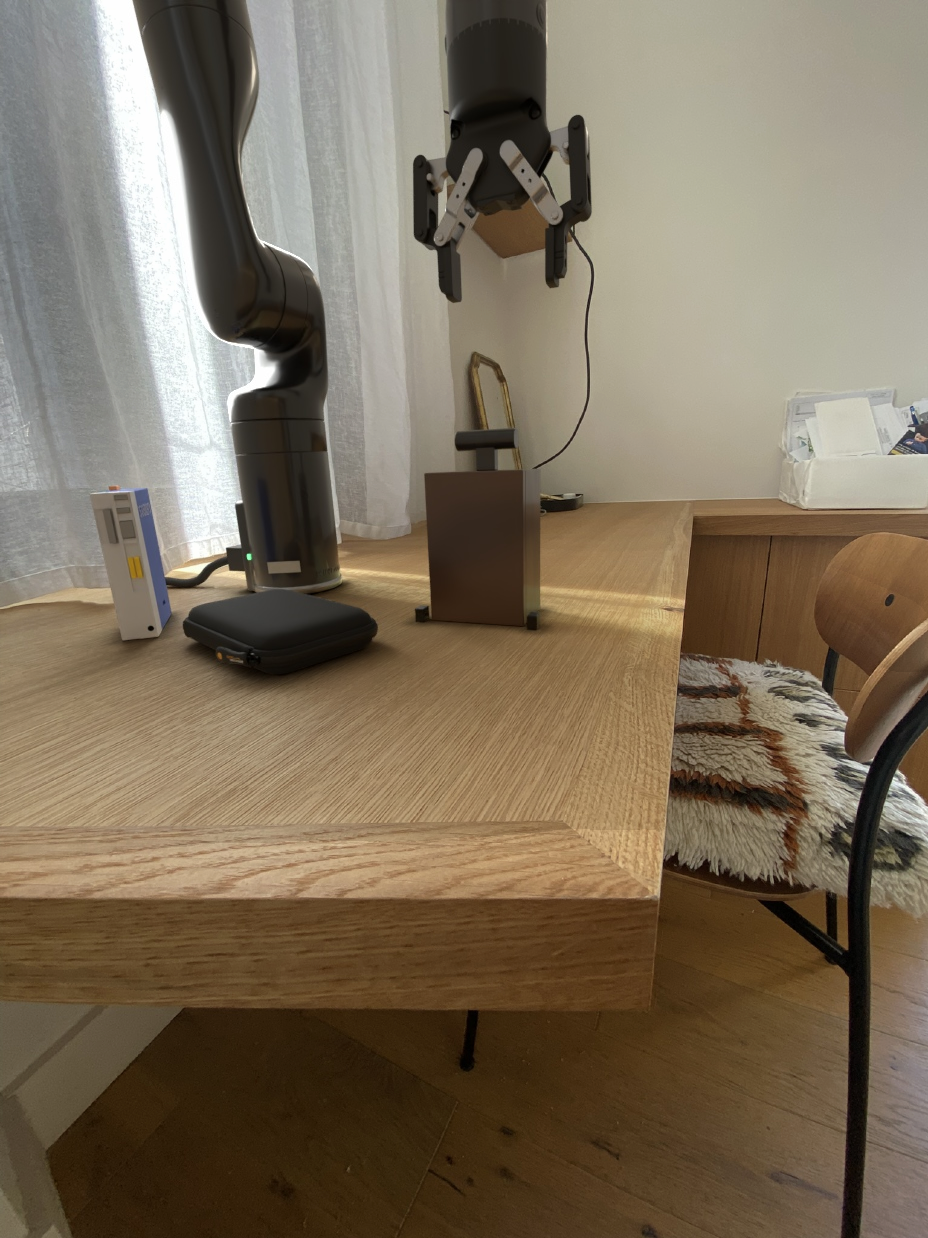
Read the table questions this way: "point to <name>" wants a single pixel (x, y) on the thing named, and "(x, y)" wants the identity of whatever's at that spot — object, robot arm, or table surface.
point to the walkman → (132, 561)
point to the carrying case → (279, 630)
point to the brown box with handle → (484, 536)
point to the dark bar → (532, 617)
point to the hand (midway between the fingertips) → (501, 293)
